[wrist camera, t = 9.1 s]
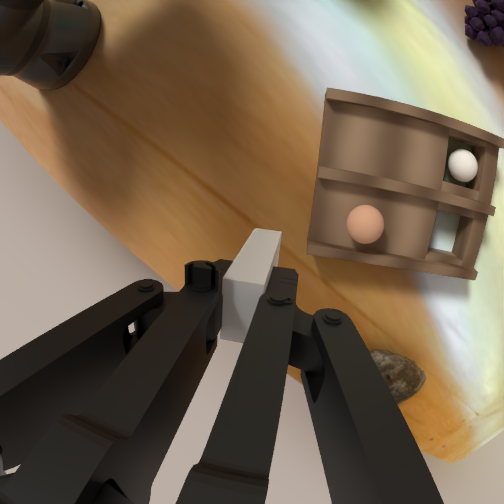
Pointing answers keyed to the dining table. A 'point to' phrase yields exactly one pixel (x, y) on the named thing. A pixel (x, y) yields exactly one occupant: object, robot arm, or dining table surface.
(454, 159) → the ball cream
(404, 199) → the board
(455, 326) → the dining table surface
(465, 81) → the dining table surface
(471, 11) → the fruit
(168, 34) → the dining table surface
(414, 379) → the stone
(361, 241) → the ball terracotta
